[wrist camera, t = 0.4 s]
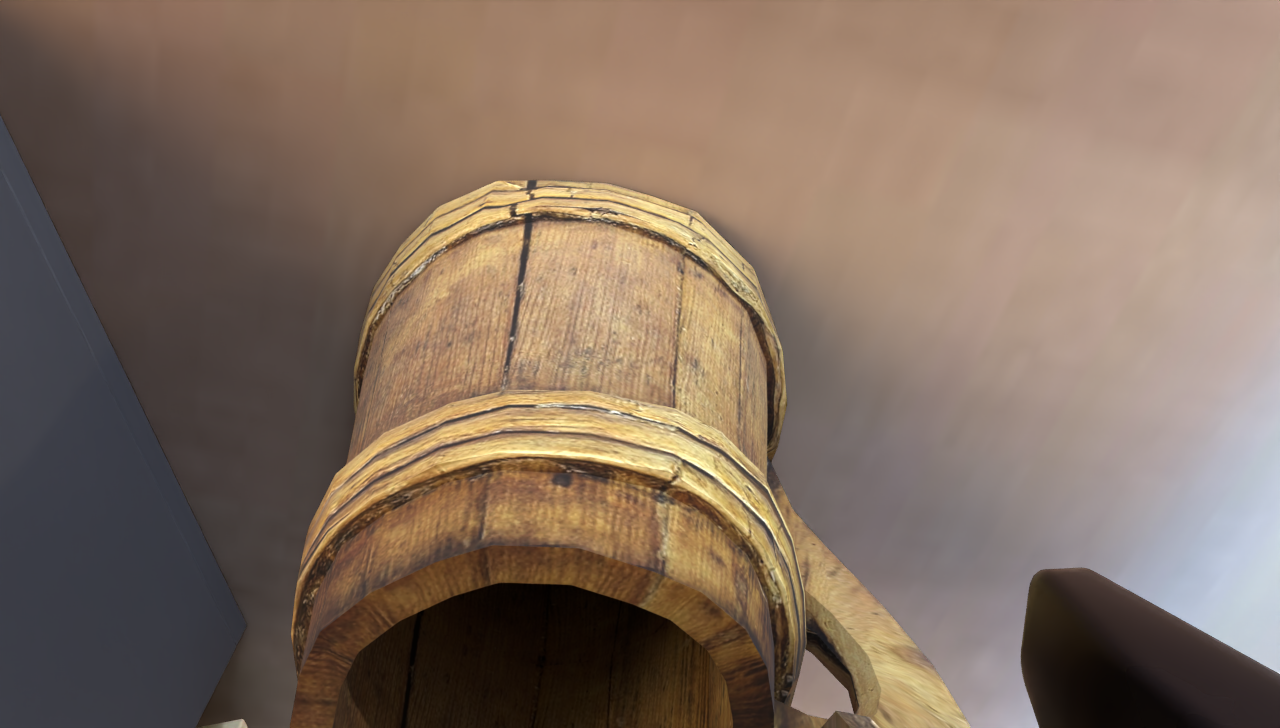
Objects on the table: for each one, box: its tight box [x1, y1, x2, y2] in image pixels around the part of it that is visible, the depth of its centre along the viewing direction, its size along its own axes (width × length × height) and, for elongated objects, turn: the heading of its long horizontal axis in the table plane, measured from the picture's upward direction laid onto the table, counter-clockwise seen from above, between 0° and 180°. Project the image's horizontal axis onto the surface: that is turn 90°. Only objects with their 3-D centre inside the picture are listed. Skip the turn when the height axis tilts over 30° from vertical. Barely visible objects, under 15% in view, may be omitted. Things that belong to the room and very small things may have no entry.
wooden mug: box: [290, 180, 971, 728], centre depth 15 cm, size 9×14×18 cm, turn 68°
